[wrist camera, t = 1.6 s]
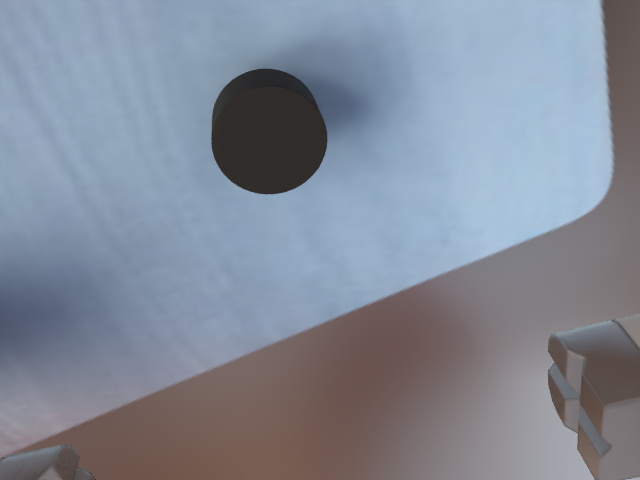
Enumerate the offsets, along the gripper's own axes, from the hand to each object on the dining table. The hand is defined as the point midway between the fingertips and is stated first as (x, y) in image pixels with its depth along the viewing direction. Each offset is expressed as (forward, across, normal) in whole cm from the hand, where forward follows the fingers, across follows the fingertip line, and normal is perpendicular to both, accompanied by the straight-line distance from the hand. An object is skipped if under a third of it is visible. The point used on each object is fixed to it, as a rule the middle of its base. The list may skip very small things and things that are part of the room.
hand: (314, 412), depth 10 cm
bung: (+19, +1, +2) cm, 19 cm away
